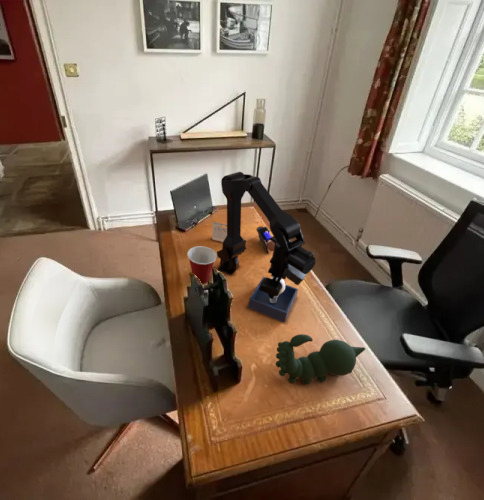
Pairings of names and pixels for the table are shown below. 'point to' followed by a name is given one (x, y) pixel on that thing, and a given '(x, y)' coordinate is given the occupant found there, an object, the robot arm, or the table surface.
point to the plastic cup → (202, 262)
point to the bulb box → (274, 310)
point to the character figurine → (265, 238)
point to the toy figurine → (316, 359)
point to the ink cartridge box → (219, 231)
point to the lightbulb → (279, 293)
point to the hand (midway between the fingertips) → (274, 292)
